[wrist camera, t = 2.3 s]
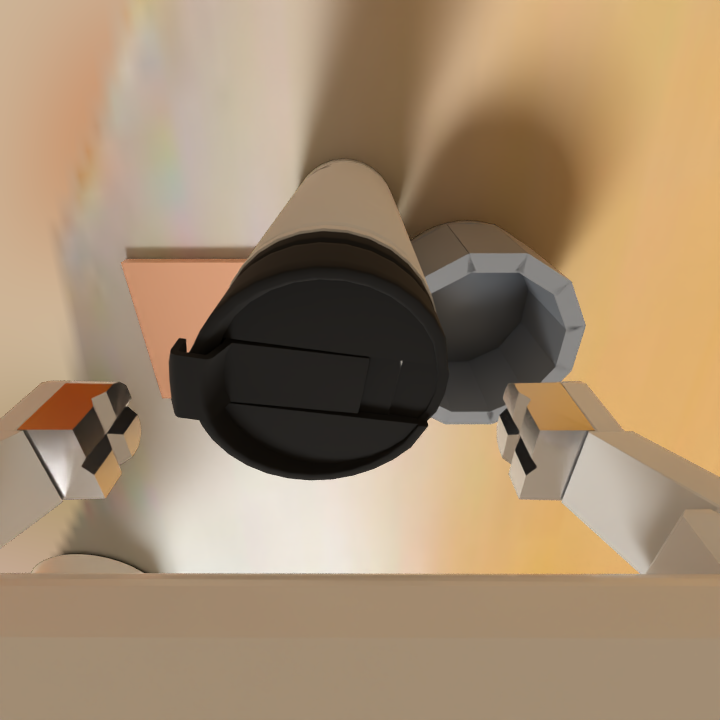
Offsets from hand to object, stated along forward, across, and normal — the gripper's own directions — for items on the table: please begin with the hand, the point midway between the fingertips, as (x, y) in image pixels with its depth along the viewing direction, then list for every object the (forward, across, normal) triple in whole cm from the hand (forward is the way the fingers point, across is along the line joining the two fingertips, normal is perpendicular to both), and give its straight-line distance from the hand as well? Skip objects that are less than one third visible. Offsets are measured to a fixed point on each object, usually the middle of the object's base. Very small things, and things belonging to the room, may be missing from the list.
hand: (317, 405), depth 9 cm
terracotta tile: (+20, -9, -9) cm, 24 cm away
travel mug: (+20, 0, 0) cm, 20 cm away
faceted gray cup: (+20, +8, -6) cm, 22 cm away
